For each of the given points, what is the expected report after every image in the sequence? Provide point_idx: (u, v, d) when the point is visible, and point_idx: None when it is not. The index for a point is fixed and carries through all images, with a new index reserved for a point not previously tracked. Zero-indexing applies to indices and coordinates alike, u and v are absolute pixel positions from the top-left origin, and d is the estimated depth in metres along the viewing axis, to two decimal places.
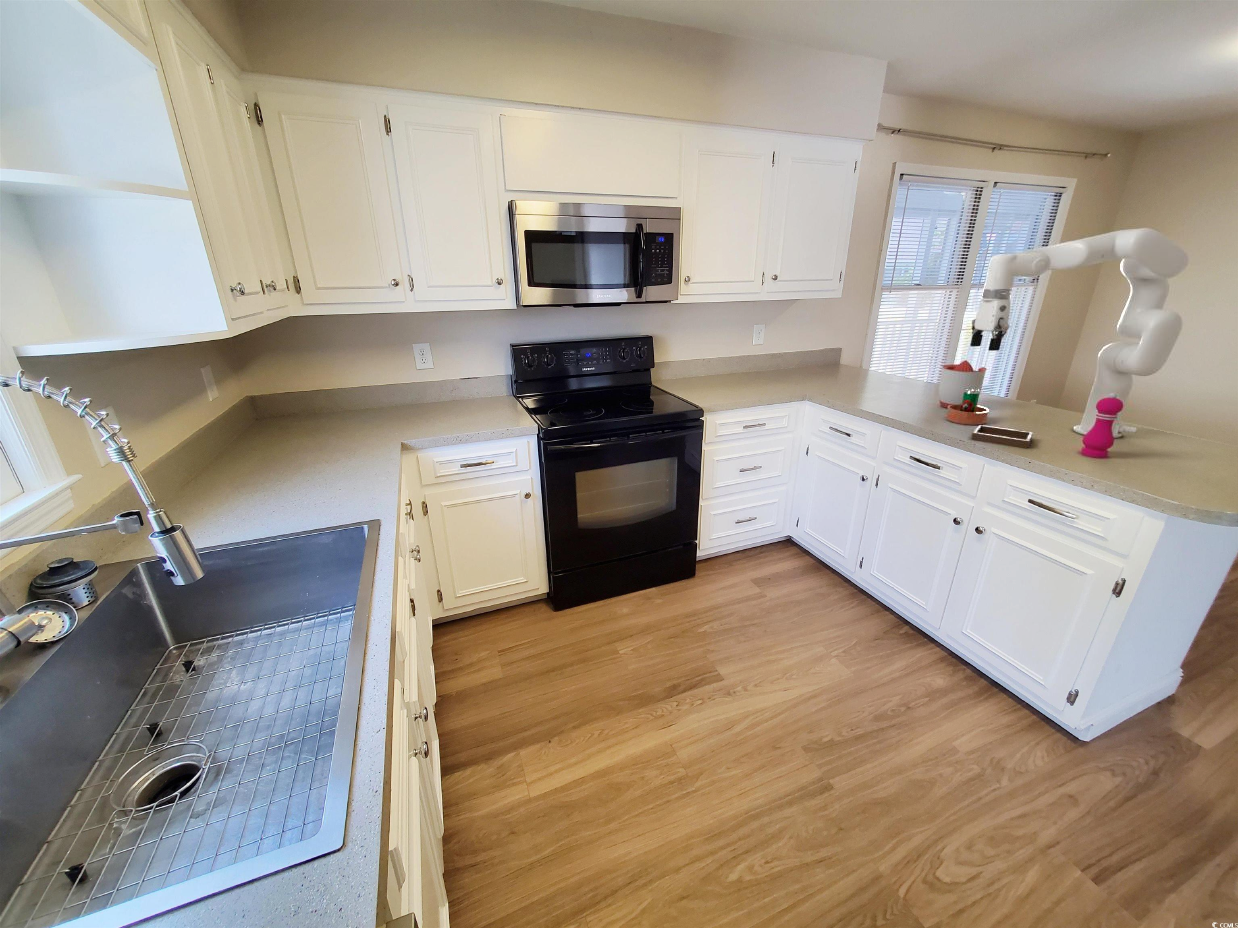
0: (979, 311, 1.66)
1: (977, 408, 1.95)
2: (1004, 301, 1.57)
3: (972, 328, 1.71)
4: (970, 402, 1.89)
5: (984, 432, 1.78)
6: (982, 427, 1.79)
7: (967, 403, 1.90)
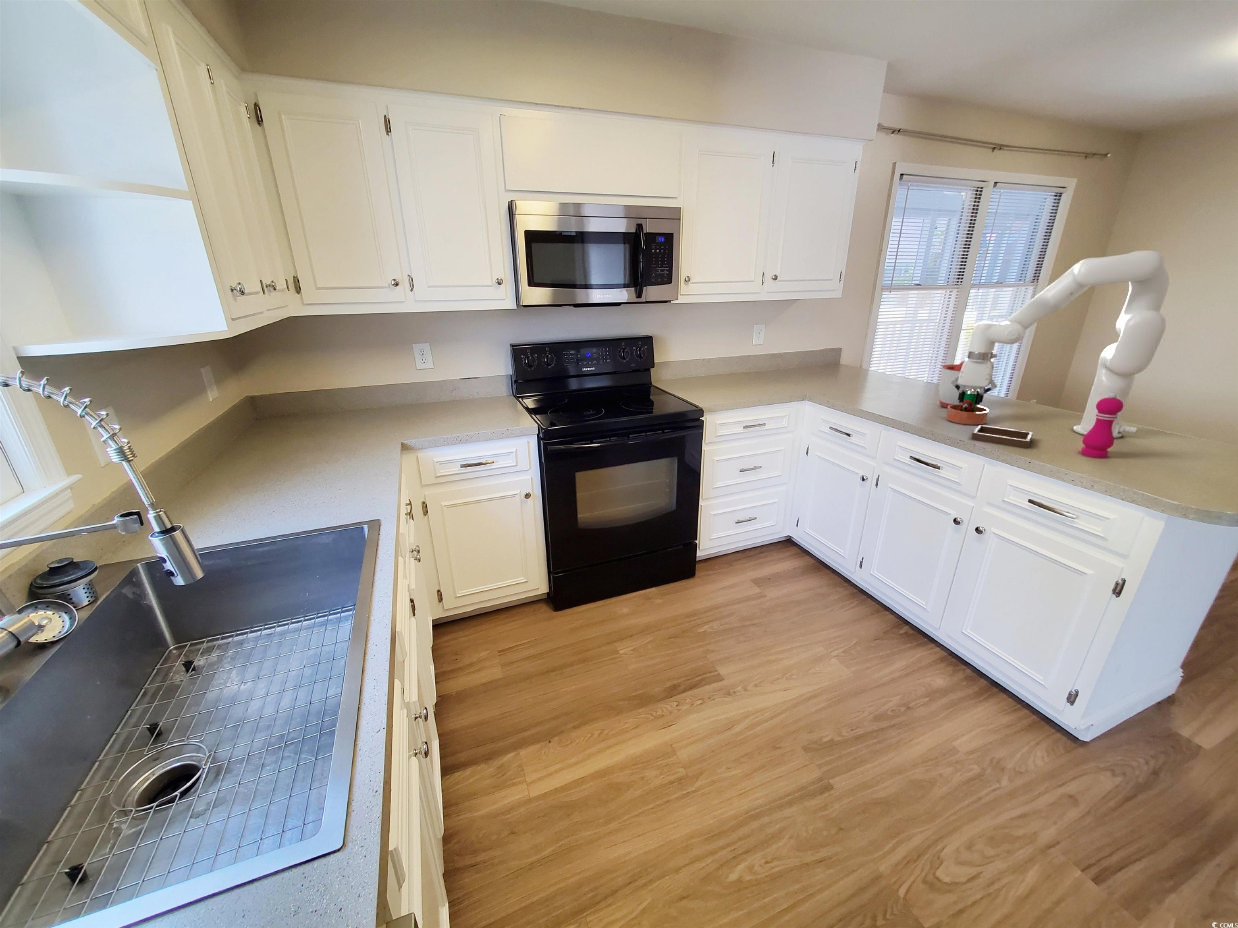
0: (965, 370, 1.88)
1: (977, 408, 1.95)
2: (993, 361, 1.83)
3: (956, 387, 1.92)
4: (970, 402, 1.89)
5: (984, 432, 1.78)
6: (982, 427, 1.79)
7: (967, 403, 1.90)
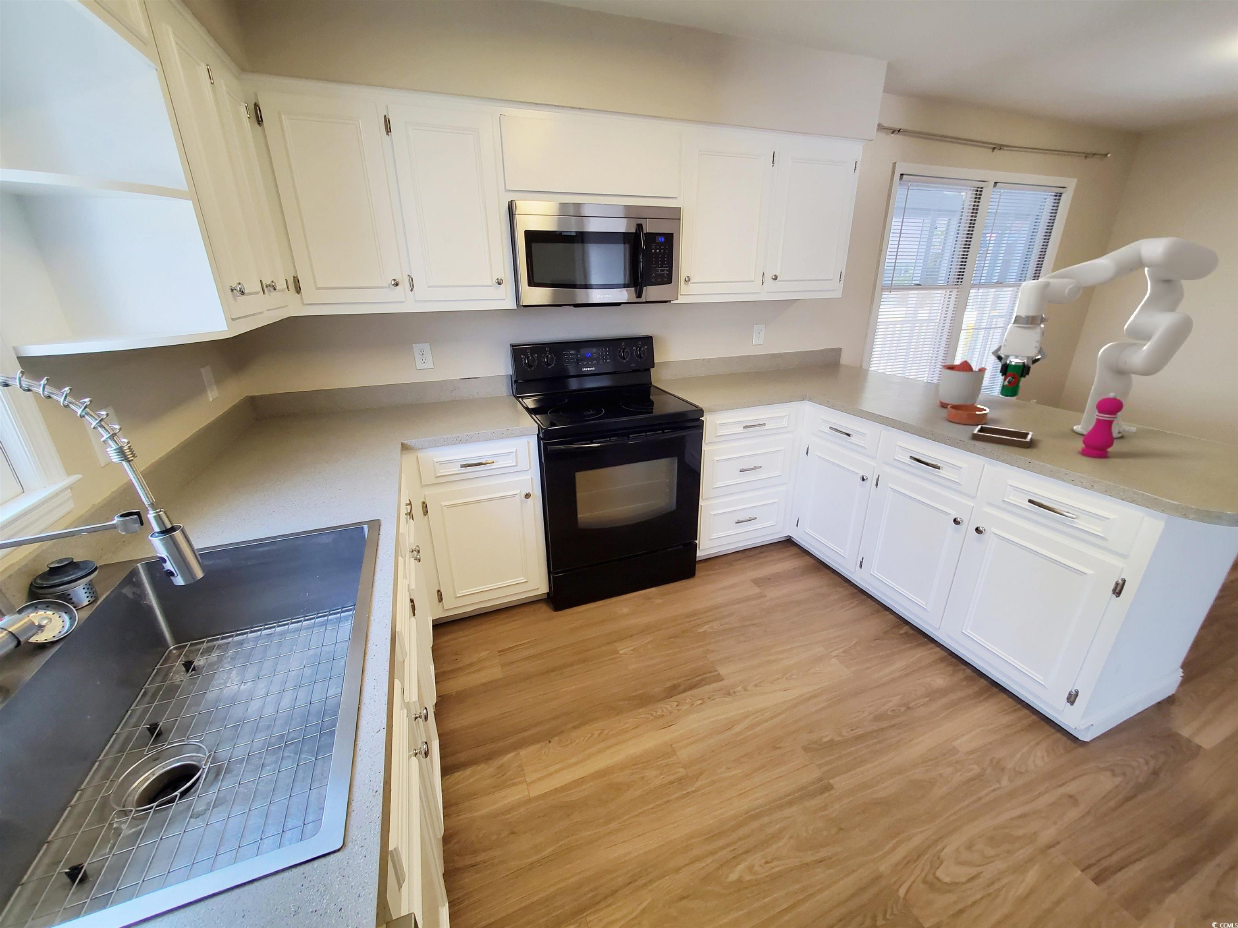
0: (1009, 337, 1.62)
1: (977, 408, 1.95)
2: (1043, 326, 1.57)
3: (998, 358, 1.67)
4: (1014, 374, 1.64)
5: (984, 432, 1.78)
6: (982, 427, 1.79)
7: (1011, 376, 1.65)
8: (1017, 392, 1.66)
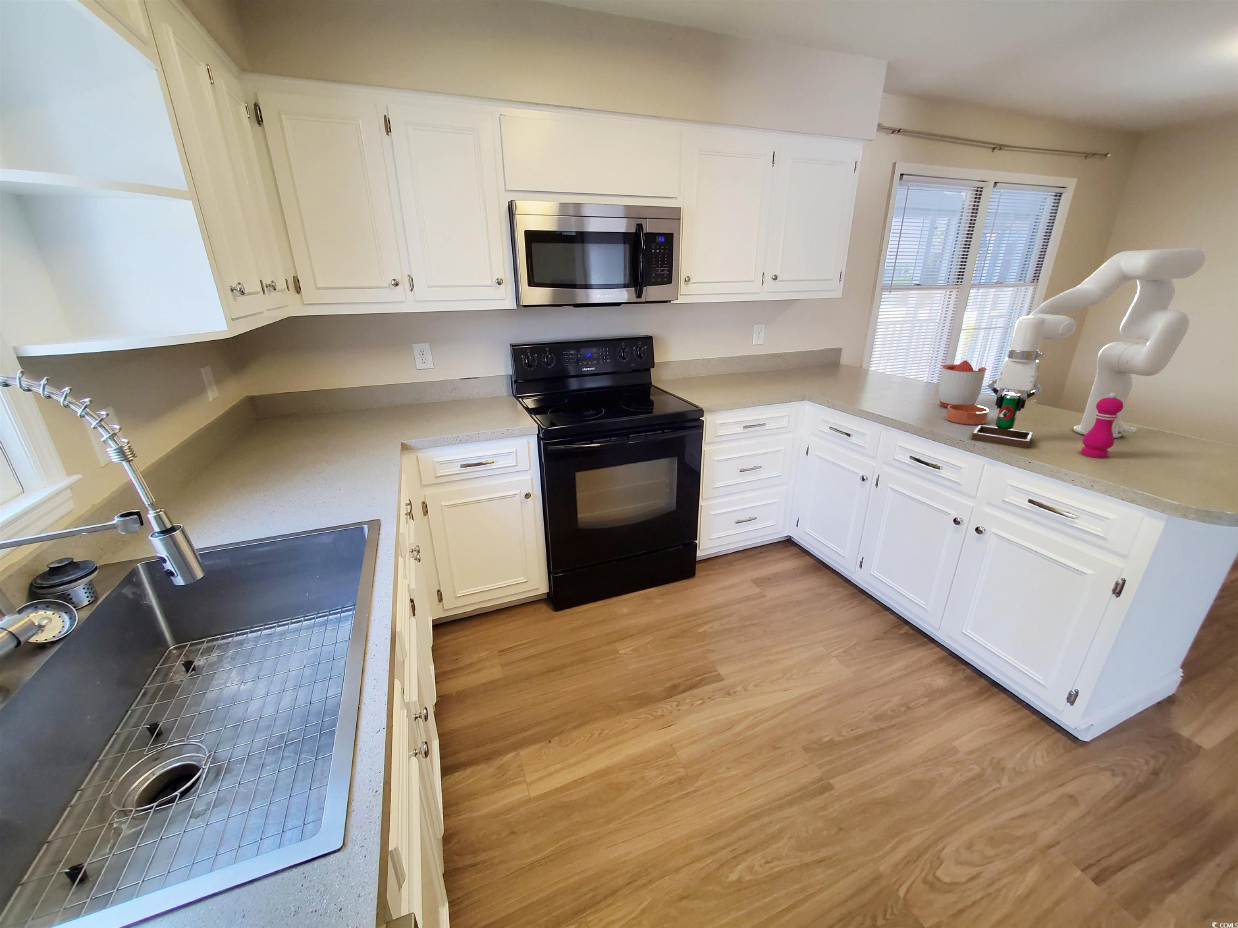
0: (1005, 371, 1.64)
1: (977, 408, 1.95)
2: (1038, 361, 1.60)
3: (994, 390, 1.69)
4: (1010, 408, 1.66)
5: (984, 432, 1.78)
6: (982, 427, 1.79)
7: (1007, 409, 1.67)
8: (1012, 425, 1.68)
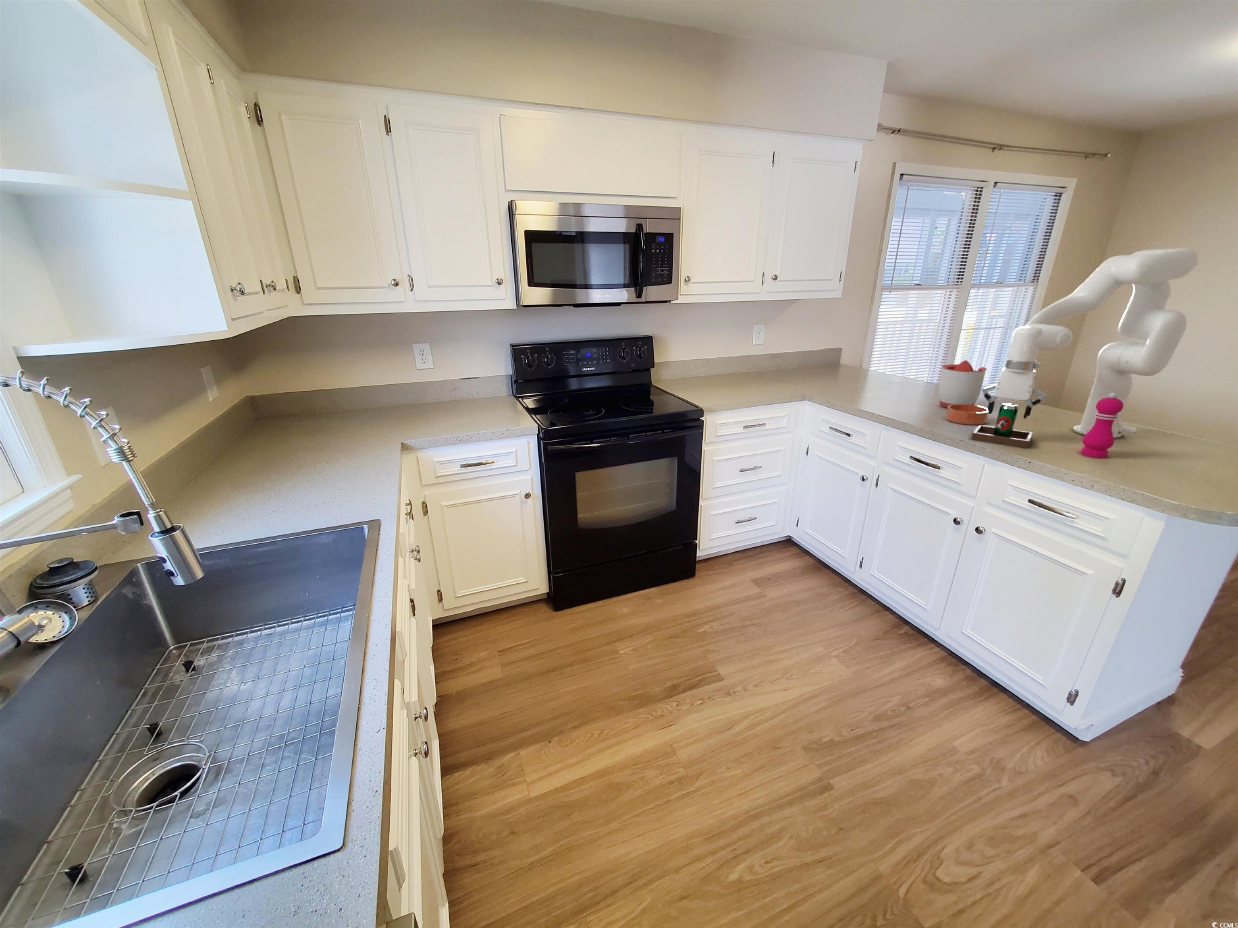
0: (1002, 381, 1.66)
1: (977, 408, 1.95)
2: (1035, 372, 1.61)
3: (986, 396, 1.71)
4: (1007, 418, 1.68)
5: (984, 432, 1.78)
6: (982, 427, 1.79)
7: (1004, 420, 1.68)
8: (1009, 435, 1.69)
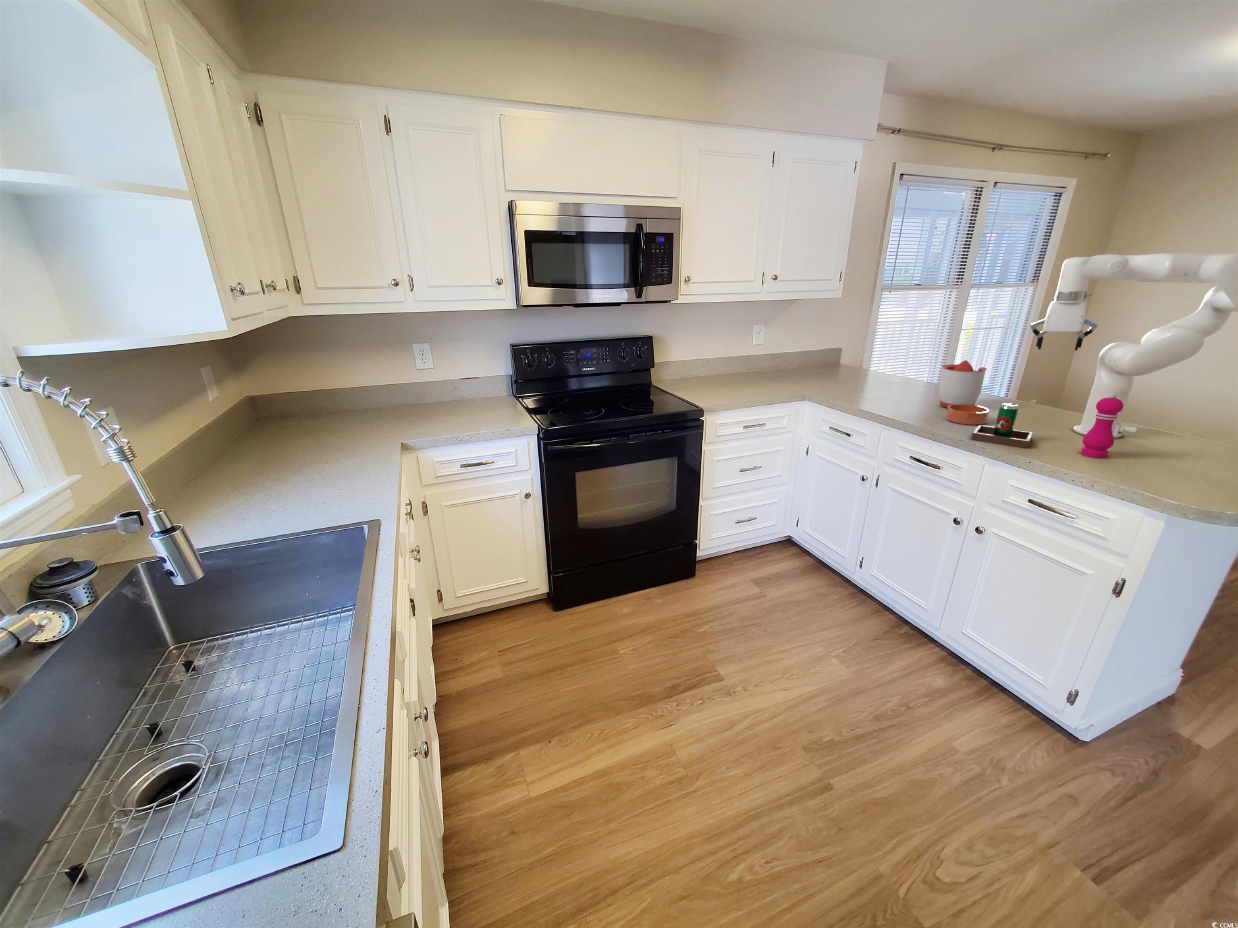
0: (1052, 314, 1.66)
1: (977, 408, 1.95)
2: (1086, 302, 1.61)
3: (1035, 332, 1.71)
4: (1007, 418, 1.68)
5: (984, 432, 1.78)
6: (982, 427, 1.79)
7: (1004, 420, 1.68)
8: (1009, 435, 1.69)
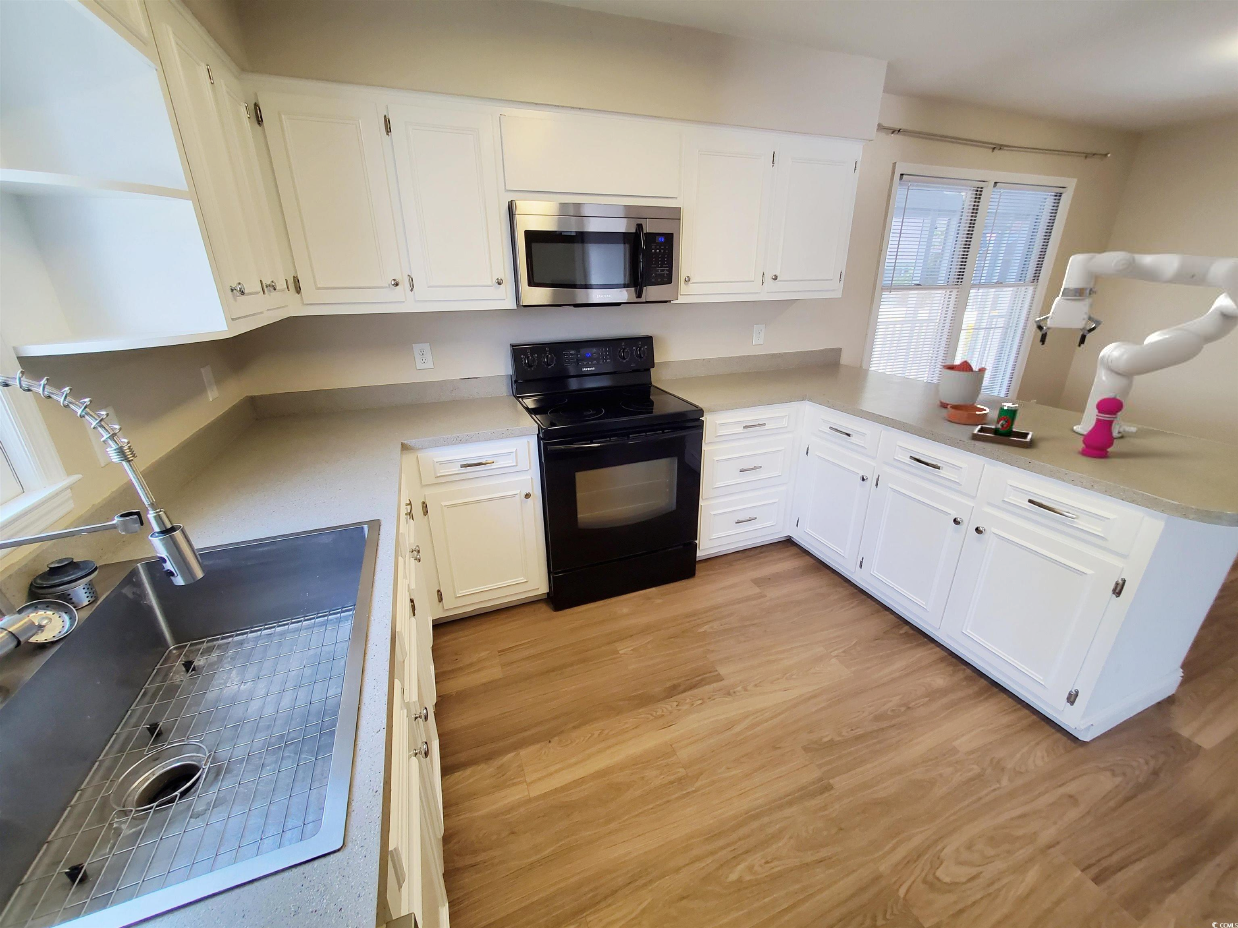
0: (1057, 310, 1.67)
1: (977, 408, 1.95)
2: (1091, 299, 1.62)
3: (1039, 327, 1.72)
4: (1007, 418, 1.68)
5: (984, 432, 1.78)
6: (982, 427, 1.79)
7: (1004, 420, 1.68)
8: (1009, 435, 1.69)
